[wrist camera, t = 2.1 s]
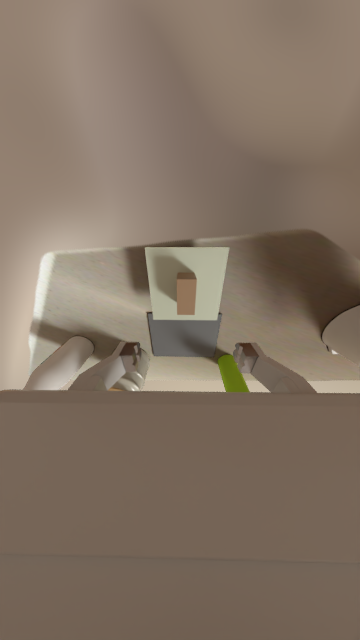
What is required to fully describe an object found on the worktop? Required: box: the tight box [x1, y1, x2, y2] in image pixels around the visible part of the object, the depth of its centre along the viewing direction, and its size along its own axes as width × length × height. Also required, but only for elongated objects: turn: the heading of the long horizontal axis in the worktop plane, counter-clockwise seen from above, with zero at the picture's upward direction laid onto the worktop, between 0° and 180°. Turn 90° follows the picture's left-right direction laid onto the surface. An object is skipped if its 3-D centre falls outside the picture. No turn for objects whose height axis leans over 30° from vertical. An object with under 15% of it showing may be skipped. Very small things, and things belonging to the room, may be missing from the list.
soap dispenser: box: [218, 355, 249, 392], centre depth 36 cm, size 6×7×20 cm
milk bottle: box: [23, 336, 94, 390], centre depth 34 cm, size 8×8×20 cm
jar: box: [108, 349, 150, 391], centre depth 38 cm, size 13×13×18 cm
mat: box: [148, 313, 222, 357], centre depth 40 cm, size 20×16×1 cm
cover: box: [145, 247, 229, 320], centre depth 23 cm, size 14×14×6 cm
